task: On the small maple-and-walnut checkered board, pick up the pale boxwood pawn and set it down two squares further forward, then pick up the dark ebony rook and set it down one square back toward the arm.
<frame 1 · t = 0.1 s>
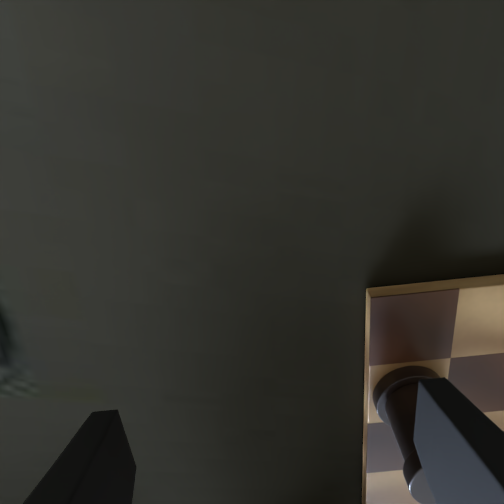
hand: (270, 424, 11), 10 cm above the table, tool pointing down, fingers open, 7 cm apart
chessboard: (503, 422, 26), on the table
rook: (407, 392, 23), point 1 cm above the table, touching chessboard
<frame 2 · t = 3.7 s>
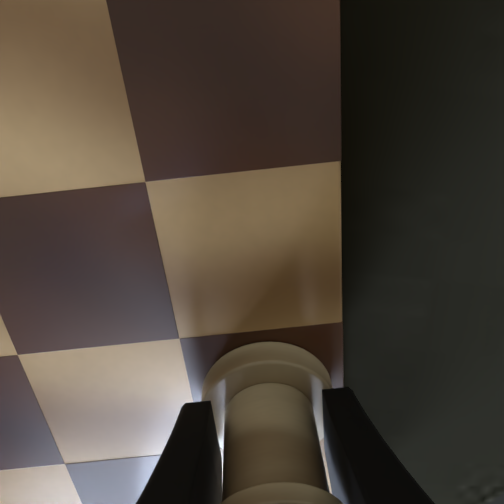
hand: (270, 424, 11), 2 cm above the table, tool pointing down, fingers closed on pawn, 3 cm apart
chessboard: (5, 266, 11), on the table
pawn: (266, 391, 12), point 1 cm above the table, touching chessboard, gripper
when the fingers open (2 cm above the table, at t = 7.3 s): pawn stays where it is, resting on chessboard.
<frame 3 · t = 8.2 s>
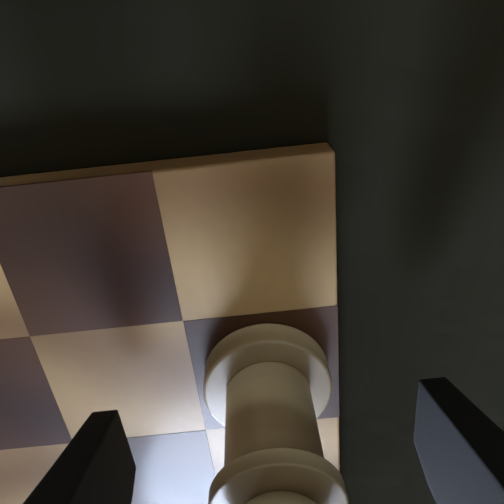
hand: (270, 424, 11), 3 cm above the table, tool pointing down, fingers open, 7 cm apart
chessboard: (98, 461, 15), on the table
pawn: (266, 372, 12), point 1 cm above the table, touching chessboard
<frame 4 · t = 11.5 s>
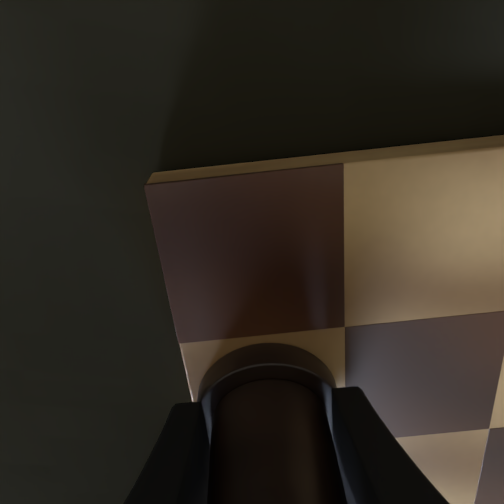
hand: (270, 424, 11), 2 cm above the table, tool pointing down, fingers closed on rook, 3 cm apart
chessboard: (465, 450, 14), on the table
rook: (267, 397, 12), point 1 cm above the table, touching chessboard, gripper
when the fingers open (2 cm above the table, at t = 14.9 s): rook stays where it is, resting on chessboard.
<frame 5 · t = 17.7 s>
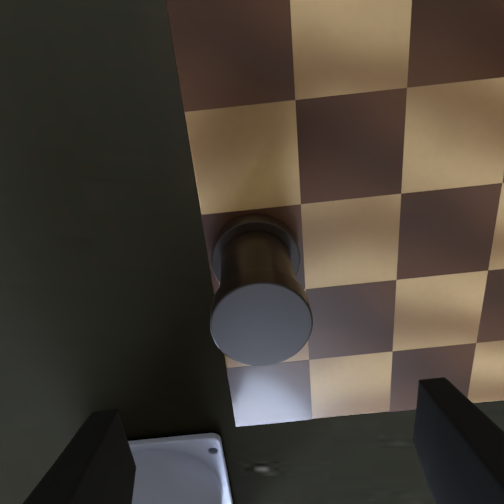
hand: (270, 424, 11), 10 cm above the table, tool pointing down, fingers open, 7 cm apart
chessboard: (392, 229, 20), on the table
rook: (255, 253, 19), point 1 cm above the table, touching chessboard
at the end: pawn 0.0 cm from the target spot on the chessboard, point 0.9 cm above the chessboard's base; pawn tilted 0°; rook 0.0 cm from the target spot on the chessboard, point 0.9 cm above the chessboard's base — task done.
